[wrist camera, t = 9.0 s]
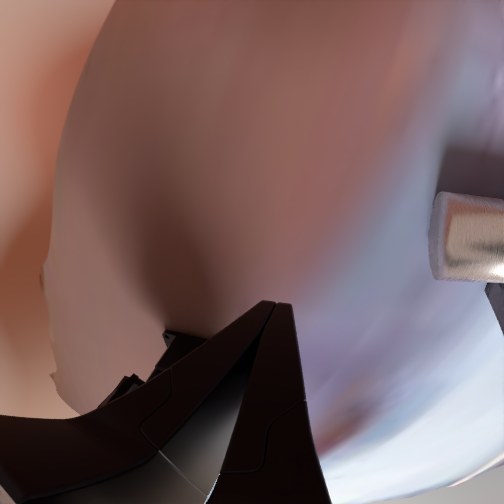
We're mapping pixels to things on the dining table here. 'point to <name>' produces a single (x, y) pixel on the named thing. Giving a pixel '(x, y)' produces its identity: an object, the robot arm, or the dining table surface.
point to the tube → (467, 238)
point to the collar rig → (496, 300)
